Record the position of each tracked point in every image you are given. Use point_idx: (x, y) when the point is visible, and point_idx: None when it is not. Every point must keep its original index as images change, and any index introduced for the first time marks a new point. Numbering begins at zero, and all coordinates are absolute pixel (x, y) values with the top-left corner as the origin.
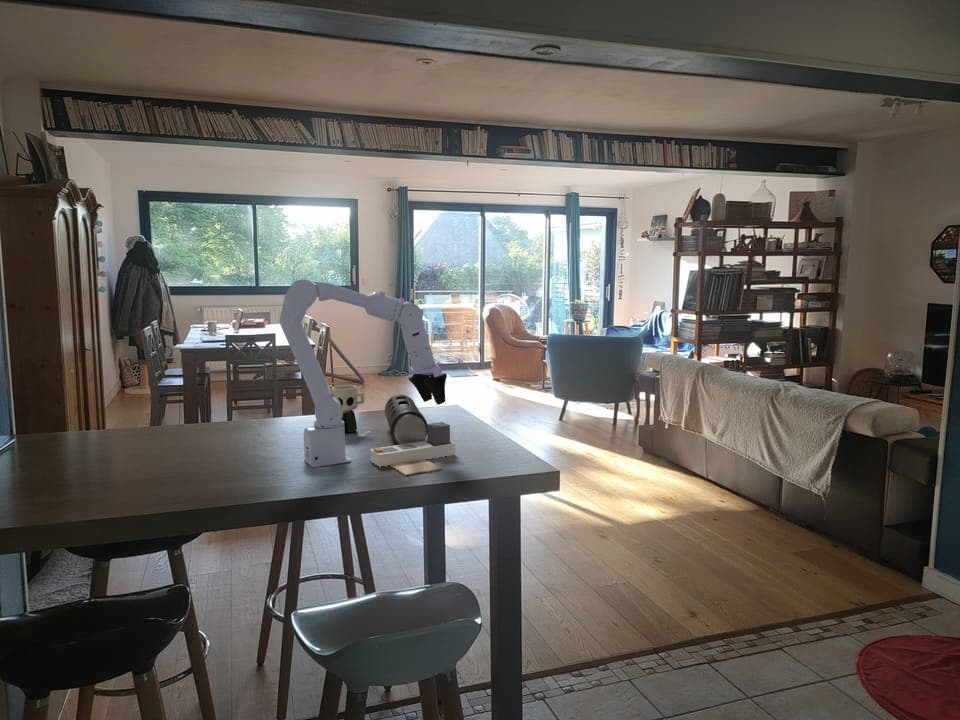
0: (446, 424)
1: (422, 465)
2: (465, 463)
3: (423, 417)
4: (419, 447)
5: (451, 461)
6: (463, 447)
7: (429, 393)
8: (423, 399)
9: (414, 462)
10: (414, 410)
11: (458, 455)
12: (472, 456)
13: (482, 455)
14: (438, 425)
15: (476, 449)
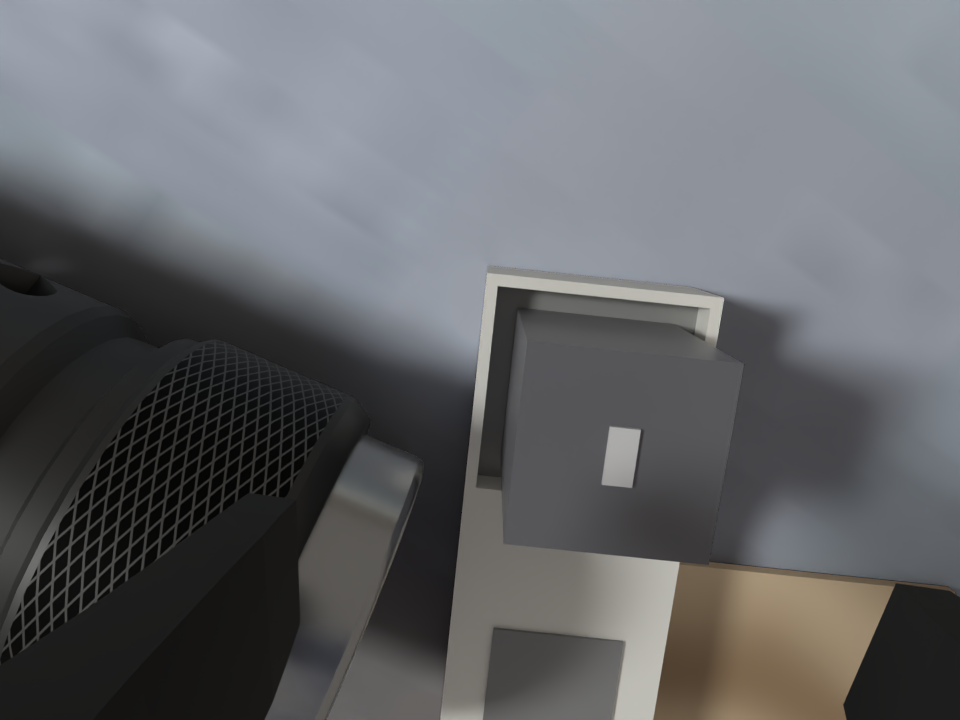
0: (683, 375)
1: (800, 660)
2: (941, 357)
3: (301, 498)
4: (630, 622)
5: (818, 411)
6: (525, 78)
7: (239, 609)
8: (274, 677)
9: (693, 664)
10: None
11: (714, 268)
12: (820, 191)
13: (857, 100)
14: (663, 481)
15: (661, 19)
